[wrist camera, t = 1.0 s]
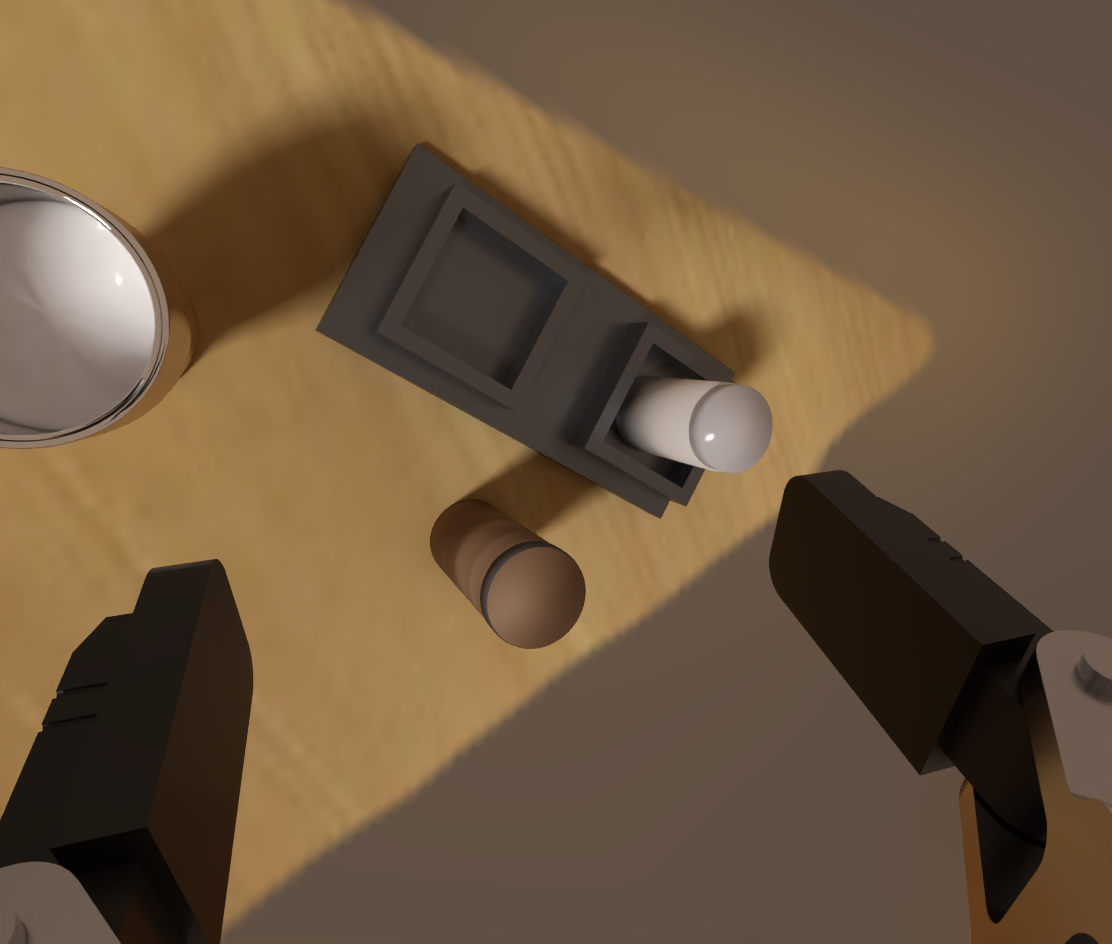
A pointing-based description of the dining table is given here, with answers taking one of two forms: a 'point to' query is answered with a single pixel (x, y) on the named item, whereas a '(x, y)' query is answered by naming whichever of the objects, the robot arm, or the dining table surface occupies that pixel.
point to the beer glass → (81, 317)
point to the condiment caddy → (511, 330)
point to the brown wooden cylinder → (509, 574)
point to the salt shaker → (696, 422)
